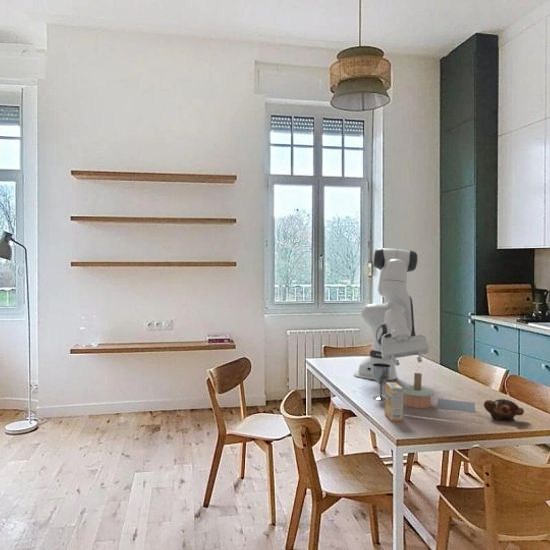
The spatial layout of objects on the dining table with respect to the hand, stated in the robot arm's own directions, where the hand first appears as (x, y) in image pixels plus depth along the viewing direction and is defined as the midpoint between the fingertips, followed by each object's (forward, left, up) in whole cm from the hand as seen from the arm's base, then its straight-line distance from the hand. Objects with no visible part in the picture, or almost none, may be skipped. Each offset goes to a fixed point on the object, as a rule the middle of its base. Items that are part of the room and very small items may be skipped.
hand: (408, 362), depth 207 cm
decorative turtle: (+37, -2, -19) cm, 41 cm away
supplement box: (-4, -18, -19) cm, 26 cm away
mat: (+19, +9, -19) cm, 28 cm away
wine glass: (-12, +8, -19) cm, 24 cm away
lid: (+4, +4, -13) cm, 14 cm away
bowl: (+4, +4, -19) cm, 19 cm away
